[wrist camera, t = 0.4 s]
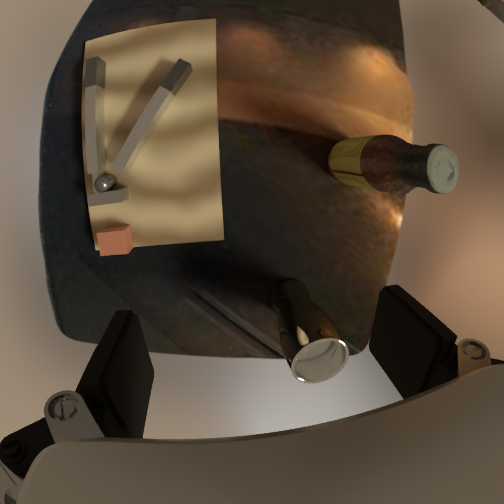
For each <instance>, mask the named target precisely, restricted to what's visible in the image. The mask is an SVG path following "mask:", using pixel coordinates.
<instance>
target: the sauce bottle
mask: <svg viewBox="0 0 504 504" xmlns="http://www.w3.org/2000/svg"><path fill="white" fill-rule="evenodd" d="M328 166H329V170H330V172H331V174H332V175H333V176H334V177H335V178H336V179H338V180H339V181H341V182H343V183H345V184H348V185H353V186H357V187H362V188H367V189H371V190H376V191H380V192H388V193H392V194H393V193H395V194H399V193H409V192H410V191H411V190H413V189H414V188H416V187H422V188H426V189H427V190H429V191H430V192H433V193H439V194H446V193H448V192H450V191H451V190H452V189H453V188H454V187H455V185H456V182H457V179H458V171H459V167H458V161H457V158H456V155H455V154H454V152H453V151H452V150H451V149H450V148H449V147H448V146H446V145H443V144H429V145H427V146H419V145H412V144H410V143H407V142H406V141H404V140H403V139H401V138H399V137H397V136H393V135H375V136H366V137H359V138H352V139H345V140H342V141H340V142H338V143H337V144H336V145H335V146H333V148H332V149H331V151H330V152H329V154H328Z"/></svg>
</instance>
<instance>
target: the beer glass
mask: <svg viewBox="0 0 504 504" xmlns="http://www.w3.org/2000/svg"><path fill="white" fill-rule="evenodd" d="M269 302H270V306H271V308H272V310H273V311H274V312H275V313H276V315H277V317H278V331H279V339H280V344H281V347H282V351H283V353H284V356H285V358H286V360H287V363H288V365H289V367H290V368H291V371H292V374H293V376H294V377H295V378H296V379H297V380H299V381H301V382H304V383H319V382H322V381H325V380H328V379H330V378H331V377H333V376H335V375H336V374H337V373H338V372H339V371H340V370H341V369H342V368H343V367H344V366H345V364H346V362H347V360H348V356H349V351H348V347H347V345H346V344H345V342H344V340H343V338H342V336H341V334H340V332H339V330H338V328H337V327H336V325H335V323H334V322H333V321H332V319H331V318H330V317H329V316H328V315H327V314H326V313H325V312H324V311H323V310H322V309H321V308H320V307H319V306H318V305H316V304H315V303H314V302H313V301H312V300H311V298H310V295H309V291H308V289H307V287H306V286H305V284H303V283H302V282H300V281H298V280H294V279H290V280H285V281H282V282H280V283H279V284H277V285H276V286H275V287H274V288H273V290H272V291H271V293H270V297H269Z"/></svg>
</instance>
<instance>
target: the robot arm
mask: <svg viewBox="0 0 504 504" xmlns="http://www.w3.org/2000/svg"><path fill="white" fill-rule="evenodd" d="M456 339H457V335H456V334H455V333H453V332H452V331H451V330H450V329H449V328H448V327H447V326H446V325H445V324H443V323H442V322H441V321H440V320H439V319H438V318H437V317H436V316H434V315H433V314H432V313H431V312H430V311H429V310H427V309H426V308H425V307H424V306H423V305H422V304H420V303H419V302H418V301H417V300H416V299H415V298H413V297H412V296H411V295H410V294H408V293H407V292H406V291H405V290H404V289H402V288H401V287H400V286H398V285H390V286H385V287H384V288H383V289H382V290H381V291H380V293H379V298H378V303H377V309H376V314H375V319H374V323H373V328H372V333H371V337H370V341H369V349H370V352H371V353H372V355H373V356H374V357H375V359H376V360H377V361H378V363H379V364H380V366H381V367H382V369H383V370H384V371H385V373H386V374H387V376H388V377H389V379H390V380H391V381H392V383H393V384H394V386H395V387H396V389H397V390H398V392H399V393H400V394H401V396H402V397H403V399H404V400H401V401H398V402H395V403H392V404H389V405H386V406H383V407H380V408H377V409H374V410H371V411H367V412H364V413H361V414H357V415H354V416H350V417H346V418H342V419H338V420H334V421H330V422H326V423H321V424H317V425H312V426H307V427H302V428H296V429H290V430H285V431H278V432H271V433H264V434H256V435H248V436H237V437H225V438H207V439H143V432H144V426H145V421H146V415H147V410H148V404H149V398H150V394H151V389H152V383H153V379H154V369H153V366H152V362H151V359H150V356H149V353H148V349H147V346H146V343H145V339H144V336H143V332H142V328H141V325H140V321H139V317H138V315H137V314H133V311H132V310H117V311H116V312H115V314H114V316H113V318H112V320H111V322H110V323H109V325H108V327H107V329H106V331H105V333H104V335H103V337H102V339H101V341H100V343H99V345H97V347H96V349H95V351H94V352H93V355H92V356H91V359H90V361H89V363H88V365H87V367H86V369H85V371H84V373H83V375H82V378H81V380H80V382H79V384H78V386H77V388H76V391H75V392H74V391H70V390H67V391H61V392H58V393H56V394H54V395H52V396H51V397H50V398H49V399H48V401H47V402H46V404H45V407H44V415H45V417H44V418H42V419H40V420H39V421H36V422H34V423H32V424H30V425H28V426H26V427H24V428H22V429H20V430H18V431H16V432H14V433H11V434H10V435H8V436H7V437H5V438H4V439H3V440H2V441H1V443H0V504H504V361H502V360H497V359H492V358H490V353H489V350H488V348H487V347H486V346H485V345H484V344H483V343H482V342H479V341H478V340H475V339H463V340H461V341H460V342H459V344H458V346H457V345H456V344H455V341H456Z"/></svg>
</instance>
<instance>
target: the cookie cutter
mask: <svg viewBox="0 0 504 504" xmlns="http://www.w3.org/2000/svg"><path fill="white" fill-rule="evenodd" d="M480 1H481V3H482V4H481V5H482V6H487V5H489V3H488V1H487V0H480Z"/></svg>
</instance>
